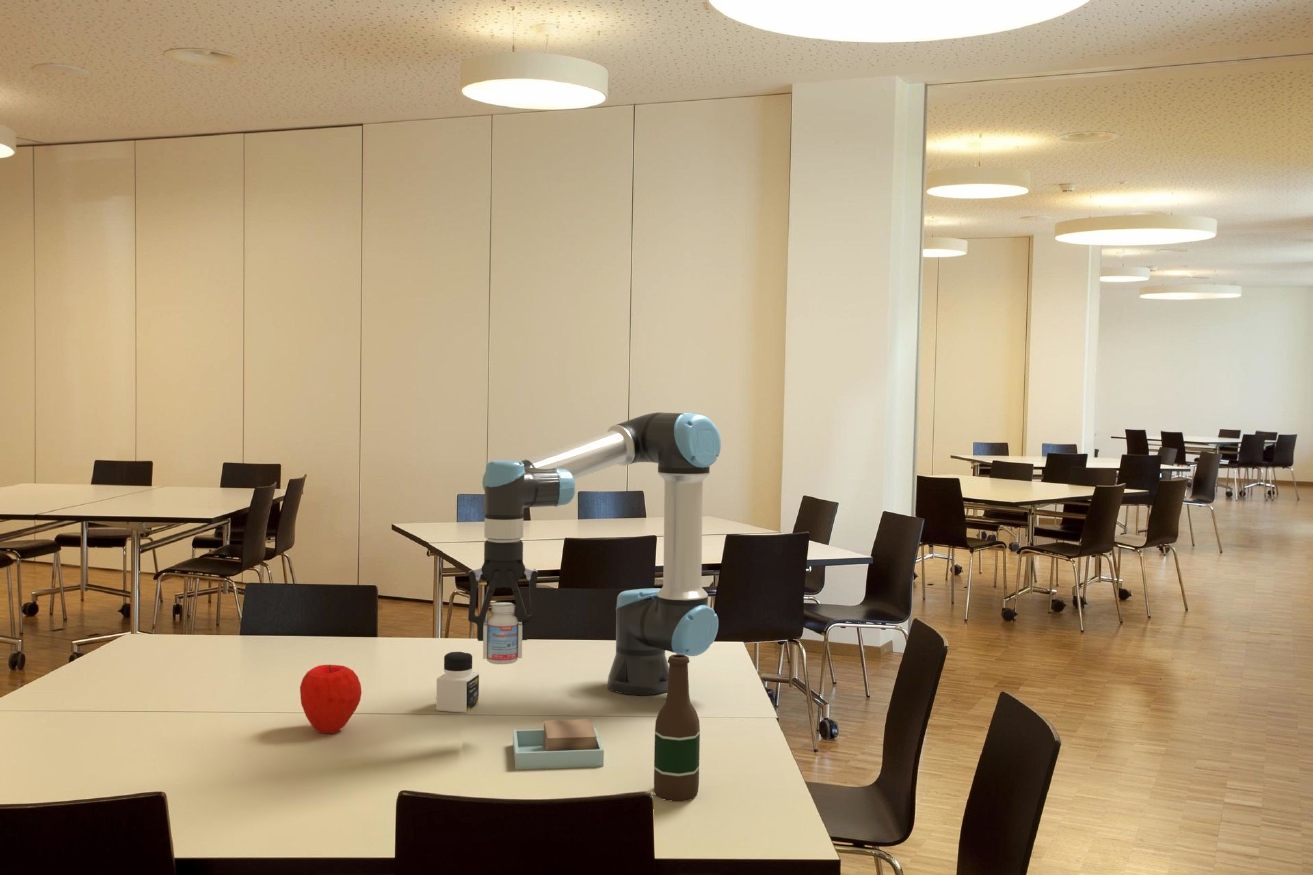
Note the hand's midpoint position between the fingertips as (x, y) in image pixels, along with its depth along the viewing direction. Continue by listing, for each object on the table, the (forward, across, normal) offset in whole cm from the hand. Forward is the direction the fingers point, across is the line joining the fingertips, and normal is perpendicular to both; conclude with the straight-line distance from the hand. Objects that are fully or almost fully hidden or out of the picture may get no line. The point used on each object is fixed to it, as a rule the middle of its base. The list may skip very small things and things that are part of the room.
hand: (502, 656), depth 216 cm
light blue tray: (+17, -10, +11) cm, 23 cm away
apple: (+17, +34, -10) cm, 39 cm away
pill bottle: (+1, 0, 0) cm, 1 cm away
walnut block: (+16, -13, +11) cm, 23 cm away
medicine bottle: (+17, +9, -24) cm, 31 cm away
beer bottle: (+17, -30, +32) cm, 47 cm away
